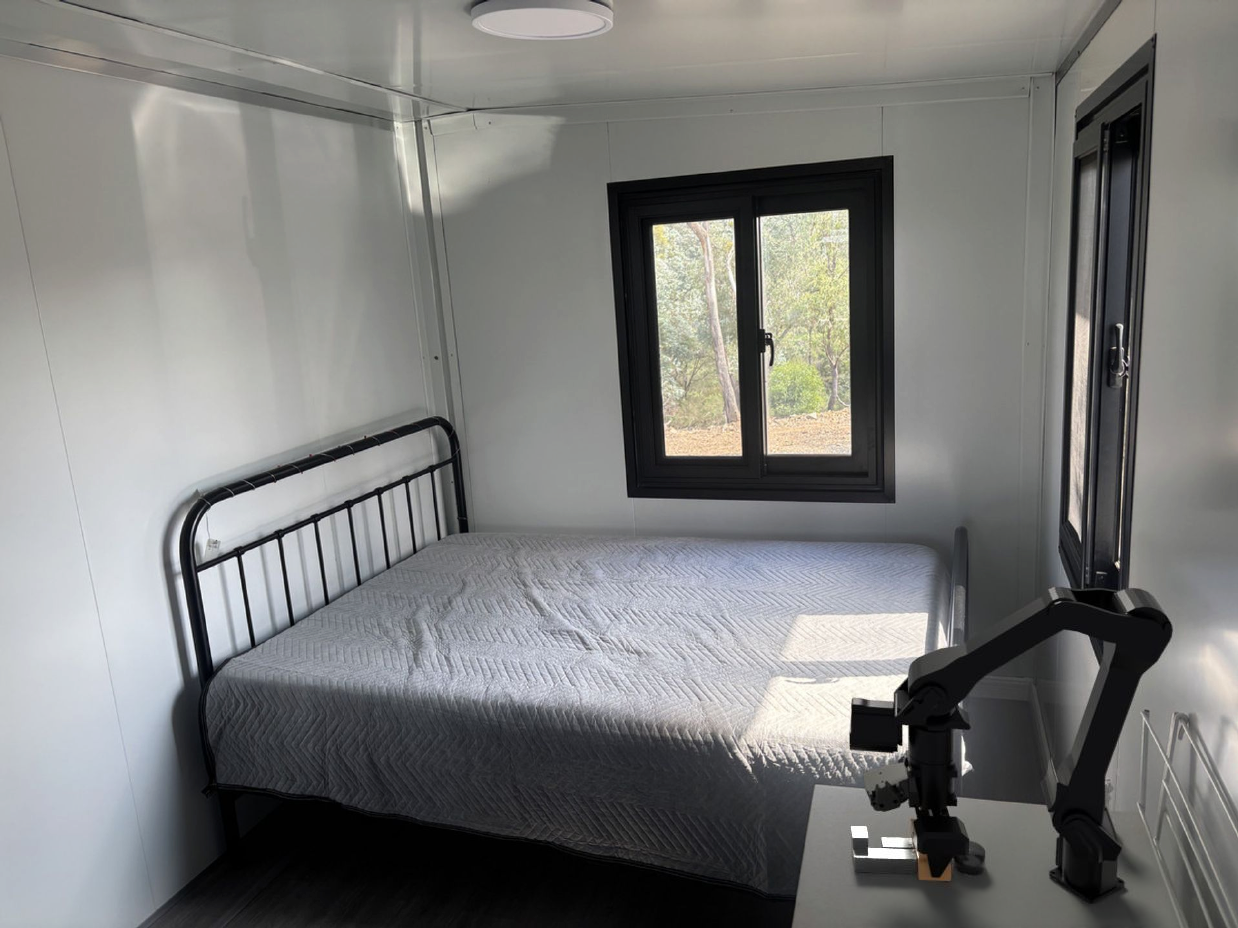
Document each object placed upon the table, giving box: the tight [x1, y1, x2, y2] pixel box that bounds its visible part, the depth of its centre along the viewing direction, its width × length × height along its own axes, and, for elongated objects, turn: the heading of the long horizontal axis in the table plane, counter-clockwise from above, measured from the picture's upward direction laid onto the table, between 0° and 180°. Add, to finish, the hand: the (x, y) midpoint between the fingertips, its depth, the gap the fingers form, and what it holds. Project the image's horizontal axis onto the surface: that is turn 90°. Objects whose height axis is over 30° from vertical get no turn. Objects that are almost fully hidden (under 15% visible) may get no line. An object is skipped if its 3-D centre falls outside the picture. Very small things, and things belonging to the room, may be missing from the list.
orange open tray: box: [910, 818, 952, 882], centre depth 127 cm, size 4×7×4 cm, turn 172°
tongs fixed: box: [881, 837, 986, 877], centre depth 128 cm, size 13×4×2 cm, turn 82°
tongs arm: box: [850, 825, 954, 876], centre depth 128 cm, size 12×4×4 cm, turn 82°
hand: (930, 858), depth 128 cm, fingers closed on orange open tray, 7 cm apart
